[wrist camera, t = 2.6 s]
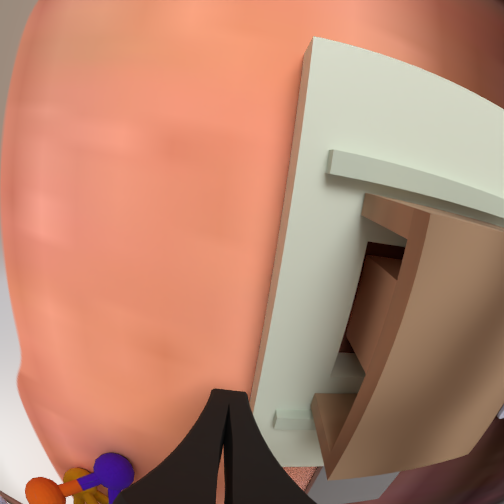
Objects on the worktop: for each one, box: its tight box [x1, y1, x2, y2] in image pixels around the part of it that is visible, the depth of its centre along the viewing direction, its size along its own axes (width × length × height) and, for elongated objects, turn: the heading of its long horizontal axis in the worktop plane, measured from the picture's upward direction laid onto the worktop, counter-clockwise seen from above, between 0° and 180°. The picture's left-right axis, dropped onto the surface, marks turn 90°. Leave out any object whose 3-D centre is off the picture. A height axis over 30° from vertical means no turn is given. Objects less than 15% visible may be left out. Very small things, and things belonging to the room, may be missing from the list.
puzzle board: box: [249, 36, 504, 467], centre depth 13 cm, size 16×20×3 cm
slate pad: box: [305, 466, 399, 504], centre depth 18 cm, size 7×7×1 cm
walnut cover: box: [311, 193, 504, 481], centre depth 10 cm, size 7×9×4 cm
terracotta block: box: [346, 255, 402, 373], centre depth 11 cm, size 4×4×5 cm
